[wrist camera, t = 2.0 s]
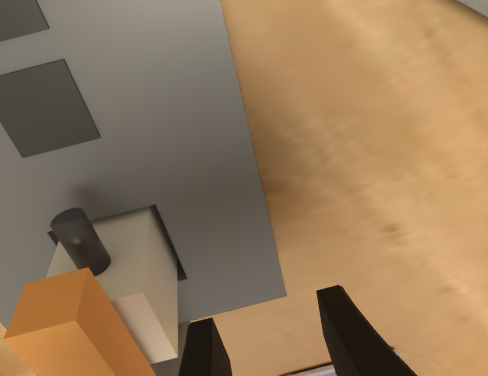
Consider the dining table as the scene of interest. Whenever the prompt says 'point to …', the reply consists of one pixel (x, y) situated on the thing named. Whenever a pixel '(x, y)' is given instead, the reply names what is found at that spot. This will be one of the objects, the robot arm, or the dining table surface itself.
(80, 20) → the power block
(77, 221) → the plug
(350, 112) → the dining table surface
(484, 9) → the electrical outlet
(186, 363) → the robot arm
